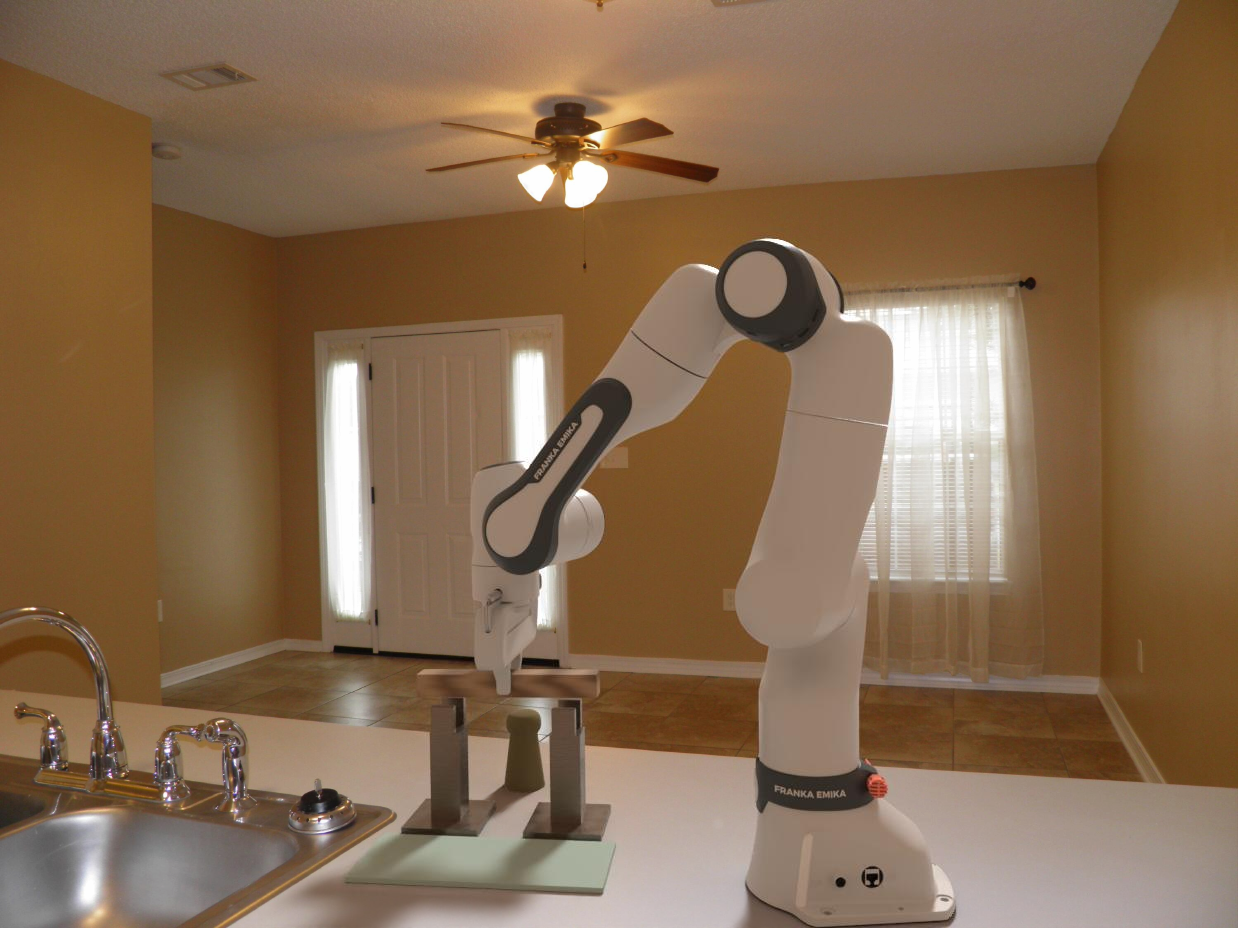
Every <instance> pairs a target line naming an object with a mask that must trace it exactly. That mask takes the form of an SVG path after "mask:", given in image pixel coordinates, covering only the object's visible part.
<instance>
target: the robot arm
mask: <svg viewBox="0 0 1238 928" xmlns="http://www.w3.org/2000/svg"><path fill="white" fill-rule="evenodd" d="M743 340H751V341H753V342H755V343H759V344H761V345H763V346H765V347H767V348H770V349H771V350H774V351H776V352H777V353H781V354H782V353H784V354H785V356H786V357H787V358H788V362H789V364H790V369H791V381H790V390H789V395H788V400H787V406H786V410H787V411H786V413H785V417H784V418H785V419H784V424H783V431H782V436H781V441H780V447H779V454H778V458H777V463H776V464H777V465H776V470H775V473H774V479H773V484H772V487H771V491H770V493H769V497H768V499H767V501H766V506H765V509H764V511H763V513H762V517H761V520H760V523H759V525H758V529H757V531H756V535H755V539H754V542H753V545H752V548H751V552H750V555H749V558H748V561H747V564H746V566H745V568H744V570H743V572H742V574H741V576H740V578H739V579H738V582H737V584H736V588H735V593H734V606H735V611H736V615H737V618H738V620H739V622H740V624H741V626H742V627H743V628H744V630H745V631H746V632H747V633H748V634H749V635H750V636H751V637H752V639H754V640H756V641H757V642H759V643H760V644H761V645H764V646H767V647H768V650H767V655H766V660H765V667H764V669H763V673H762V677H761V680H760V682H759V683H760V684H759V688H758V748H759V749H758V752H759V753H758V754H757V755H756V758H755V767H754V773H753V774H754V776H753V777H754V803H755V806H756V809H757V817H756V818H757V820H756V826H755V836H754V843H753V848H752V853H751V858H750V862H749V864H748V865H749V866H748V869H747V873H746V876H745V883H746V886H747V888H748V889H749V890H750V892H751V893H752V894H753V895H754V896H755V897H756V898H758V899H759V900H761V901H763V902H765V903H767V904H768V905H770V906H771V907H775V908H778V909H780V910H783V911H785V912H787V913H790V914H792V915H794V916H795V917H797V919H799V920H800V921H802V922H804V923H805V924H807V925H809V926H812V927H815V928H816V927H817V928H820V927H821V928H823V927H824V928H825V927H842V926H844V927H845V926H846V927H847V926H856V925H857V926H861V925H862V926H863V925H880V924H897V923H899V924H901V923H917V922H933V921H934V922H936V921H946V920H949V919H950V918H951V917H953V915H954V913H955V911H956V907H957V906H956V904H955V903H956V896H955V890H954V887H953V884H952V883H951V881H950V879H949V877H948V876H947V874H946V873H945V872H944V870H942V868H941V867H940V866H939V865H937V864H936V863H935V862H934V861H932V857H931V853H930V849H929V846H928V843H927V842H926V839H925V837H924V835H923V834H922V832H921V830H920V828H919V827H918V826H917V825H916V824H915V823H914V821H912V820H911V819H910V818H909V817H908V816H906V815H905V814H903V813H902V812H901V811H900V810H898V809H897V808H896V807H894V806H893V805H892V804H891V803H890V802H887V801H886V800H885V799H884V798H885V797H886V795H887V794H888V793H889V792H888V791H889V788H888V784H887V783H886V780H885V778H884V777H883V776H882V775H880V774H879V773H878V770H877V768H875V767H874V766H872V764H871V762H869V760H868V759H867V758H865V760H863V759H862V758H860V705H859V704H860V686H861V675H862V668H863V659H864V658H863V657H864V652H865V651H864V650H865V639H866V629H867V620H868V619H867V618H868V602H869V601H868V600H869V593H870V585H871V575H870V569H869V566H868V563H867V561H866V559H865V558H864V556H863V555H862V553H861V552H860V551H859V545H860V541H861V539H862V535H863V532H864V529H865V525H866V523H867V519H868V516H869V513H870V511H871V508H872V505H873V503H874V501H875V498H876V495H877V488H878V484H879V477H880V472H881V467H882V462H883V457H884V456H883V455H884V451H885V445H886V444H885V443H886V440H887V433H888V428H889V427H888V426H889V421H890V414H891V409H892V408H891V407H892V398H893V383H894V348H893V347H894V346H893V342H892V340H891V338H890V336H889V334H888V333H887V332H886V331H885V330H884V328H882V327H880V325H878V324H876V323H874V322H873V321H870V320H868V319H865V318H861V317H859V316H858V317H857V316H852V315H846V314H845V299H844V293H843V289H842V287H841V285H840V283H839V281H838V280H837V278H836V277H835V276H834V275H833V274H832V273H831V272H830V271H829V270H828V269H827V268H825V267H824V266H823V264H822V263H821V262H820V261H819V260H818V259H817V258H816V257H815V256H813V255H812V254H810V253H808V252H807V251H805V250H803V249H801V248H798V247H796V246H795V245H793V244H791V243H789V242H788V241H787V242H786V241H784V240H780V239H775V238H774V239H773V238H761V239H759V238H758V239H755V240H752V241H748V242H745V243H744V244H742V245H740V246H738V247H736V248H735V249H734V250H733V251H732V252H731V253H730V254H729V255H728V256H727V257H726V258H725V259H724V261H723V262H722V263H721V266H720V268H719V269H717V268H715V267H712V266H709V265H707V264H701V263H689V264H685V265H682V266H681V267H679V268H677V269H676V270H675V271H674V272H673V273H672V274H671V275H670V276H669V277H668V278H667V279H666V280H665V282H664V283H663V284H662V285H661V286H660V287H659V288H658V289H657V291H656V292H655V293H654V294H653V296H652V297H651V299H649V301H647V304H646V305H645V307H644V308H643V310H642V311H641V312H640V313H639V315H638V316H637V318H636V319H635V321H634V322H633V324H632V326H631V328H630V329H629V331H628V332H627V334H626V335H625V336H624V339H623V340H622V342H621V343H620V344H619V346H618V347H617V349H616V351H615V352H614V353H613V355H612V356H611V358H610V359H609V361H608V363H607V364H606V365H605V367H604V368H603V369H602V370H601V372H599V373H600V374H599V375H598V376H597V377H596V378H595V380H594V381H593V382H592V383H591V385H589V387H588V388H587V389H586V390H585V391H584V393H583V394H582V395H581V396H580V397H579V398H578V400H577V401H576V402H575V403H574V404H573V406H572V407H571V408H570V409H569V411H568V412H567V413H566V415H565V416H564V418H563V419H562V420H561V421H560V423H559V425H558V426H557V427H556V429H555V430H554V431H553V433H551V436H550V437H549V438H548V439H547V441H546V442H545V444H544V445H543V447H541V449H540V451H539V452H538V453H537V455H536V456H535V458H534V459H533V460H532V461H531V463H530V462H528V461H524V460H513V461H507V462H497V463H493V464H490V465H488V466H484V467H482V468H480V470H478V471H477V472H476V473H475V475H474V478H473V481H472V484H471V490H470V506H469V507H470V508H469V509H470V510H469V511H470V513H469V517H470V518H469V519H470V523H469V525H470V527H469V528H470V534H471V537H472V541H473V552H472V557H471V562H470V563H471V588H472V589H471V591H472V592H471V593H472V595H471V596H472V599H473V600H474V601H477V602H480V603H481V604H482V605H481V607H479V609H477V611H476V615H475V621H474V622H475V623H474V651H473V652H474V663H475V667H476V669H478V670H489V671H491V670H493V673H494V676H495V679H496V687H497V693H498V694H499V695H508V694H509V693H510V692H511V691H512V689H513V687H512V679H511V674H510V669H522V661H523V650H525V649H526V648H527V647H528V646H529V644H531V643H532V642H533V641H534V640H535V638H536V635H537V630H538V629H537V628H538V611H539V597H540V590H541V589H542V586H543V579H542V577H543V576H542V574H541V573H540V570H543V569H544V568H547V567H551V566H554V565H560V564H563V563H567V562H569V561H573V560H577V559H582V558H584V557H585V556H587V555H589V554H591V553H593V552H594V551H595V550H597V549H598V547H599V546H600V544H601V543H602V541H603V538H604V537H605V536H604V535H605V531H606V516H605V512H604V509H603V506H602V504H601V503H600V501H599V499H598V498H597V497H596V496H595V495H594V494H593V493H591V491H589V490H587V489H586V488H585V489H584V488H582V486H583V485H584V484H585V483H586V481H587V479H588V478H590V475H592V473H593V472H594V470H595V469H596V467H597V466H598V465H599V463H600V462H601V461H602V460H603V458H604V457H605V456H606V455H607V454H608V453H609V452H610V451H611V450H613V449H614V448H615V447H617V446H618V445H620V444H621V443H622V442H625V441H626V440H628V439H629V438H631V437H634V436H636V435H638V434H640V433H643V432H646V431H648V430H651V429H654V428H657V427H659V426H662V425H665V424H667V423H670V422H672V421H673V420H675V419H676V418H677V417H678V416H679V415H680V414H681V413H682V412H683V411H684V410H685V409H686V408H687V406H688V405H690V404H691V402H692V401H694V399H695V398H696V396H697V395H698V394H699V392H700V391H701V390H702V388H703V386H705V384H706V382H707V381H708V379H709V377H710V376H711V374H712V373H713V371H714V370H715V368H716V367H717V365H718V363H720V360H721V359H722V357H723V356H724V355H725V353H726V352H727V351H728V350H729V349H730V348H731V347H732V346H734V345H735V344H736V343H738V342H741V341H743ZM955 906H956V907H955ZM954 910H955V911H954ZM953 912H954V913H953ZM952 914H953V915H952ZM949 917H950V918H949Z"/></svg>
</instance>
